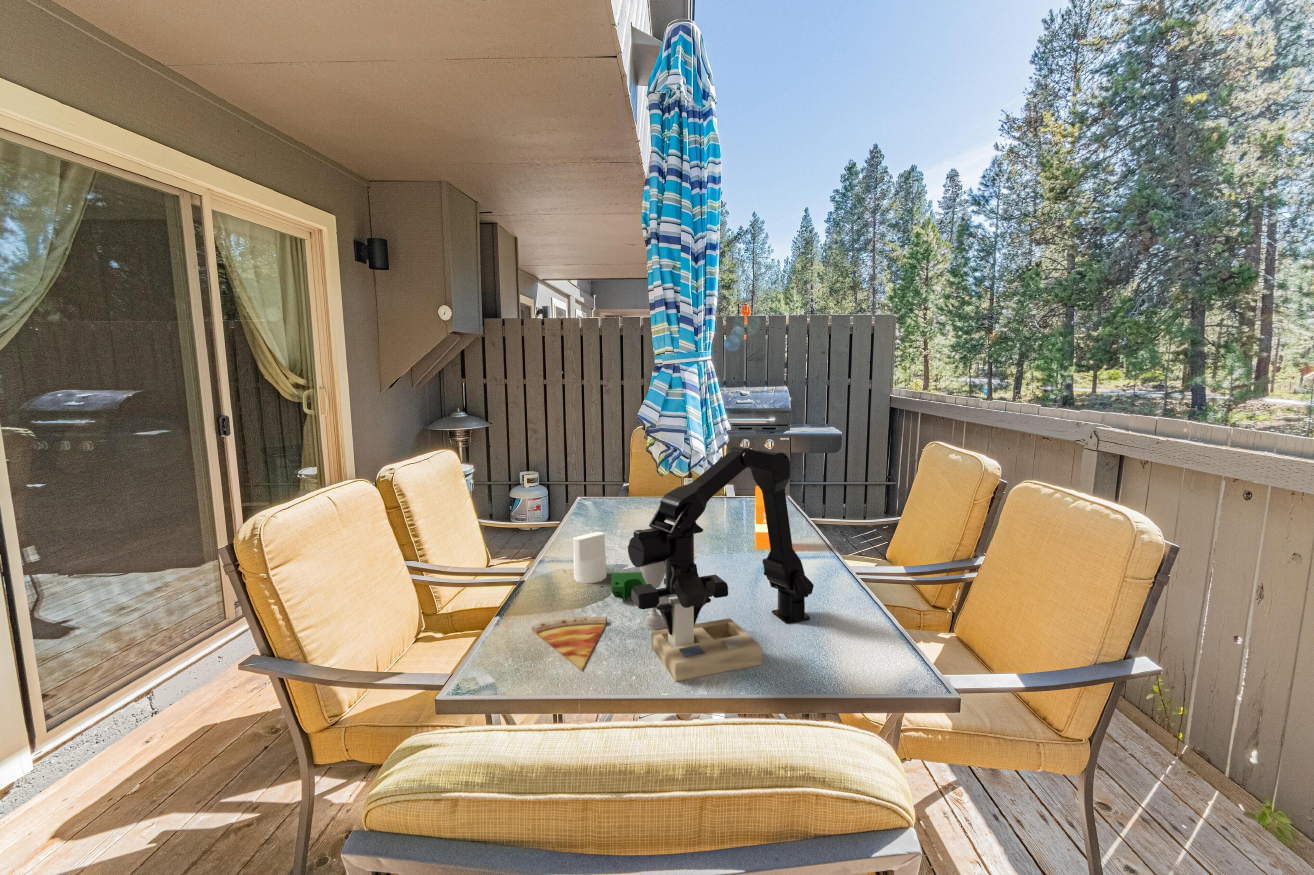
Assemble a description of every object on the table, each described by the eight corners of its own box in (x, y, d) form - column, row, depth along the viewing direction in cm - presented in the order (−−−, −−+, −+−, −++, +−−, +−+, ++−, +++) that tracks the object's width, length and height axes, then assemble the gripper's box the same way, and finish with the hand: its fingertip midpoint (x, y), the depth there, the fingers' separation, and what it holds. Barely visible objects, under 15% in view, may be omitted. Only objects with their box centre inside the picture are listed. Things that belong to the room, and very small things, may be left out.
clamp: (620, 617, 144) (604, 589, 141) (620, 602, 150) (605, 575, 147) (663, 599, 143) (649, 571, 140) (662, 585, 149) (648, 558, 146)
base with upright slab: (586, 585, 154) (584, 542, 153) (567, 577, 161) (566, 535, 159) (612, 577, 160) (611, 535, 158) (594, 569, 167) (593, 529, 165)
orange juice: (754, 543, 190) (755, 483, 187) (782, 544, 188) (782, 484, 186) (755, 550, 182) (755, 488, 180) (783, 551, 181) (784, 488, 179)
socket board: (651, 647, 119) (651, 630, 119) (730, 633, 125) (730, 616, 124) (675, 681, 106) (675, 662, 105) (762, 664, 112) (762, 645, 111)
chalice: (634, 621, 132) (632, 544, 130) (661, 615, 134) (660, 541, 132) (646, 634, 125) (645, 554, 123) (674, 628, 128) (673, 549, 126)
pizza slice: (503, 669, 112) (503, 659, 112) (541, 620, 134) (541, 612, 134) (581, 673, 110) (581, 664, 110) (607, 623, 132) (607, 615, 132)
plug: (668, 643, 117) (667, 596, 116) (686, 640, 118) (685, 593, 117) (675, 653, 113) (674, 604, 112) (694, 649, 114) (693, 601, 113)
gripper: (647, 576, 103) (648, 659, 105) (741, 563, 109) (740, 642, 111) (629, 557, 113) (631, 633, 115) (716, 547, 119) (716, 618, 121)
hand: (680, 632), depth 115 cm, fingers closed on plug, 4 cm apart
